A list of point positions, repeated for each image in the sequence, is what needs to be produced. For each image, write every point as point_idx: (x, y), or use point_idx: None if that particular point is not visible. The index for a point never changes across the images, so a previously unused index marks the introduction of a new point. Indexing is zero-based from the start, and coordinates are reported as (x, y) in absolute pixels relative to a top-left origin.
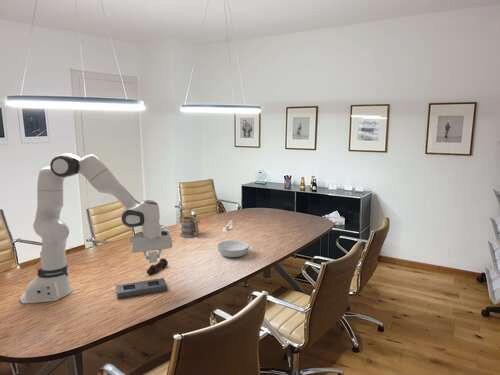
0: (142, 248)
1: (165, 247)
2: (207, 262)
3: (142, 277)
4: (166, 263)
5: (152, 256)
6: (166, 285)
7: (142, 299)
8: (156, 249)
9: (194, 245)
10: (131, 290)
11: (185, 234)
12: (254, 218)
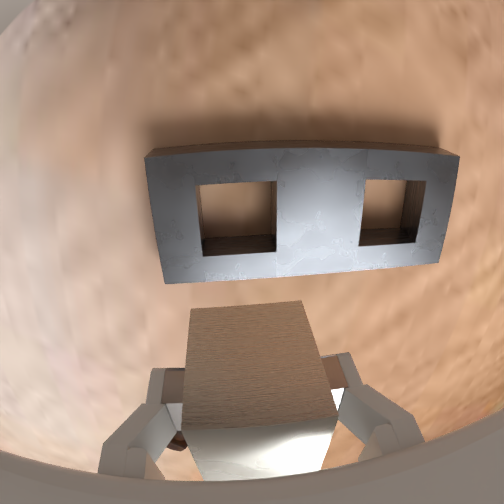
0: (474, 480)
1: (21, 478)
2: (13, 388)
3: None
4: None
5: (266, 376)
6: (148, 157)
7: (324, 76)
8: (187, 490)
9: None
10: (392, 157)
11: None
12: None
